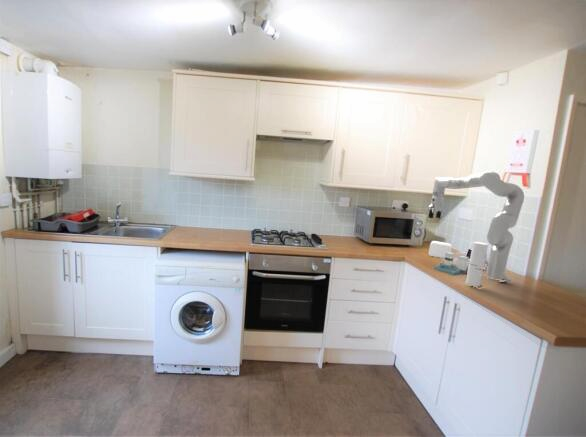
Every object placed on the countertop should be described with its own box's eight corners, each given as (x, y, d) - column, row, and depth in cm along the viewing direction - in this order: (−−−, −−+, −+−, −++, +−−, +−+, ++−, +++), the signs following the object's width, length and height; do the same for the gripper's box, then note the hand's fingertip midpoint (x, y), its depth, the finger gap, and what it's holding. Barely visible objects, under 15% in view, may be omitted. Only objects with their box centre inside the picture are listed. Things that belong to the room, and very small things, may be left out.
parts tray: (459, 274, 191) (460, 270, 191) (452, 276, 186) (453, 271, 186) (441, 268, 201) (442, 264, 200) (434, 270, 196) (434, 265, 195)
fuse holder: (469, 274, 194) (470, 269, 194) (463, 275, 190) (464, 271, 189) (445, 266, 207) (445, 262, 207) (438, 267, 203) (439, 263, 202)
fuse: (465, 272, 194) (468, 257, 193) (462, 273, 192) (465, 257, 190) (459, 270, 197) (462, 255, 196) (456, 271, 195) (459, 256, 194)
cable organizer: (426, 256, 233) (429, 241, 231) (429, 253, 241) (431, 239, 240) (448, 260, 225) (450, 245, 223) (450, 258, 233) (452, 243, 231)
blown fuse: (452, 268, 202) (454, 253, 200) (448, 268, 199) (451, 254, 198) (446, 266, 205) (448, 252, 203) (443, 266, 202) (445, 252, 201)
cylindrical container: (466, 282, 177) (474, 241, 173) (480, 285, 173) (488, 243, 169) (464, 285, 172) (472, 242, 168) (478, 288, 167) (487, 245, 163)
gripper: (436, 194, 209) (432, 219, 212) (449, 195, 219) (445, 218, 222) (426, 193, 215) (422, 217, 218) (439, 194, 225) (436, 216, 228)
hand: (434, 217), depth 220 cm, fingers open, 9 cm apart
